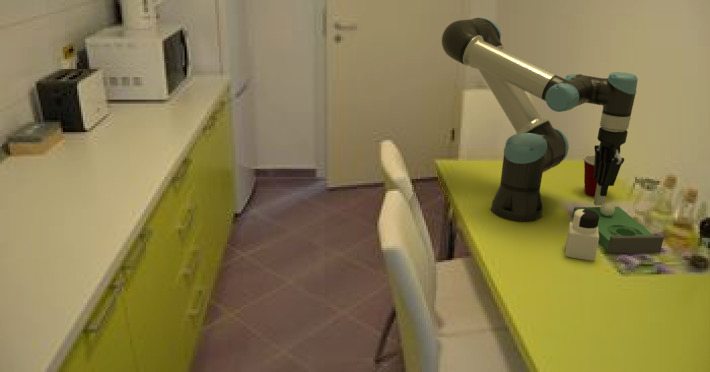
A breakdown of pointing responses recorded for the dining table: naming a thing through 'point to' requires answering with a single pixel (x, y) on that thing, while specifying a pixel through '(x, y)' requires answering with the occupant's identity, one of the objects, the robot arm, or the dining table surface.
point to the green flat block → (624, 233)
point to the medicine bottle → (583, 235)
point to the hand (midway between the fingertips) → (598, 204)
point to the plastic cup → (589, 175)
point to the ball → (607, 209)
